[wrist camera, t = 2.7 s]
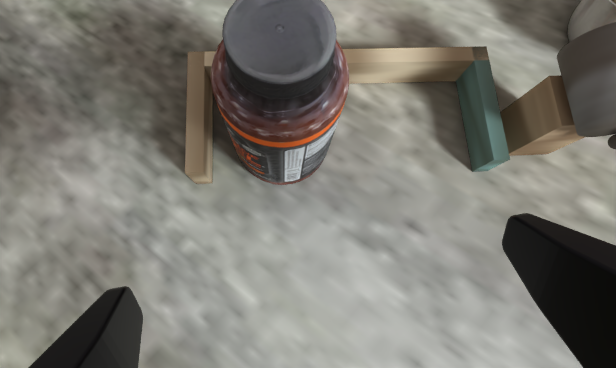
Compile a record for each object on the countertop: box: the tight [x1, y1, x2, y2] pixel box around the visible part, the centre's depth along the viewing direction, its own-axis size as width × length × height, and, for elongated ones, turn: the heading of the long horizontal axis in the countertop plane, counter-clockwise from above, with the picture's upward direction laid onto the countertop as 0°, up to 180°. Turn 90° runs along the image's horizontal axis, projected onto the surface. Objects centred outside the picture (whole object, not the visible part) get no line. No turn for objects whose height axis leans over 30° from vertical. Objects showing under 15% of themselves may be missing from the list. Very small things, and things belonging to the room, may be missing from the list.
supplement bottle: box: [211, 0, 349, 185], centre depth 17 cm, size 6×6×11 cm
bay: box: [185, 47, 510, 184], centre depth 22 cm, size 19×8×2 cm, turn 93°
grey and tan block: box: [500, 22, 616, 156], centre depth 20 cm, size 4×5×9 cm
